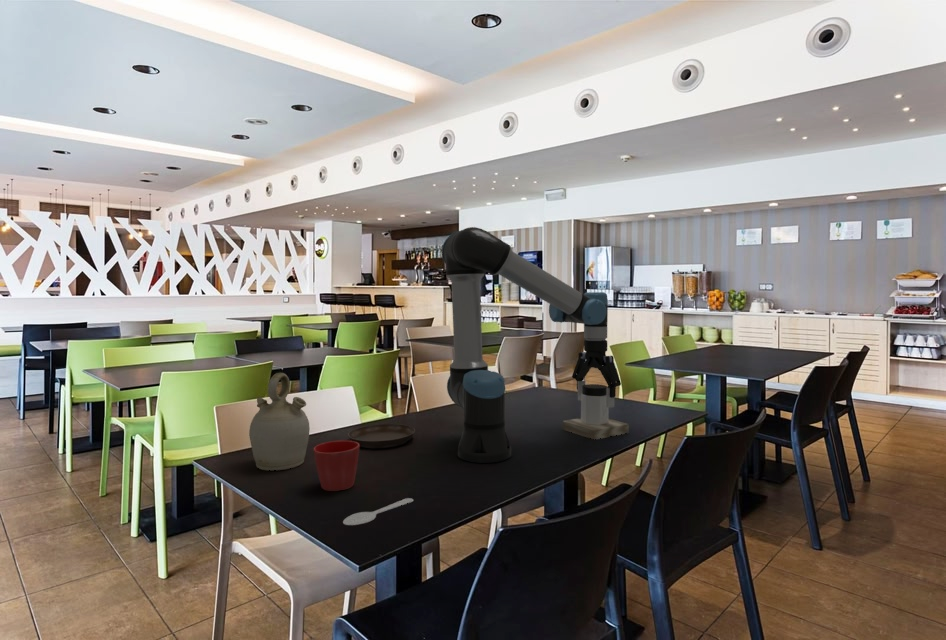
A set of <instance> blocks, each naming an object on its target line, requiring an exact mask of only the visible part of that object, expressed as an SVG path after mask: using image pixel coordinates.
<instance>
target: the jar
mask: <svg viewBox="0 0 946 640" xmlns="http://www.w3.org/2000/svg"><path fill="white" fill-rule="evenodd" d="M607 387H608V385H604V384H595V383H593V384H589V383H587V384H585V385H583V386H582V393H581V401H580V418H581V421H582V422H583V423H585V424H589V425H603V424H607V423H608V422H609V419H610V418H609V414H610V413H609V411H610V410H609V409H610V408H606V388H607Z"/></svg>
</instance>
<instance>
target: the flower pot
mask: <svg viewBox="0 0 946 640" xmlns="http://www.w3.org/2000/svg"><path fill="white" fill-rule="evenodd" d="M360 448H361V447H360V445H359V443H357V442H354V441H351V440H332V441H327V442H322V443H319V444H317V445H316V446H314V447H313V455H314V460H315V461H314V462H315V466H316V471H317V475H318V479H319V483H320V487H321V489H323V490H324V491H328V492H339V491H342V490H343V491H344V490H348V489H350V488H352V487H353V486H354V485H355V480H356V474H357V471H358V462H359V454H360Z"/></svg>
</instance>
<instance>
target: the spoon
mask: <svg viewBox="0 0 946 640" xmlns="http://www.w3.org/2000/svg"><path fill="white" fill-rule="evenodd" d="M412 502H414V499H413V498H411V497H410V498H409V497H406V498H403V499H402V500H398V501H396V502H394V503H391V504H389V505H387V506H384V507H381V508H379V509H376V510H374V511H360V512H355V513H353V514H350V515H349V516H347V517H345V518H344V519H343V521H342V524H343V525H345V526H357V525H362V524H367V523H369V522H371V521H373V520H375V519H376V518H377V515H378V514H381V513H384V512H386V511H387V512H388V511H390V510H392V509H395V508H398V507H401V505H402V506H404V505H405V506H406V505H407V503H408V504H410V503H412Z"/></svg>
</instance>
